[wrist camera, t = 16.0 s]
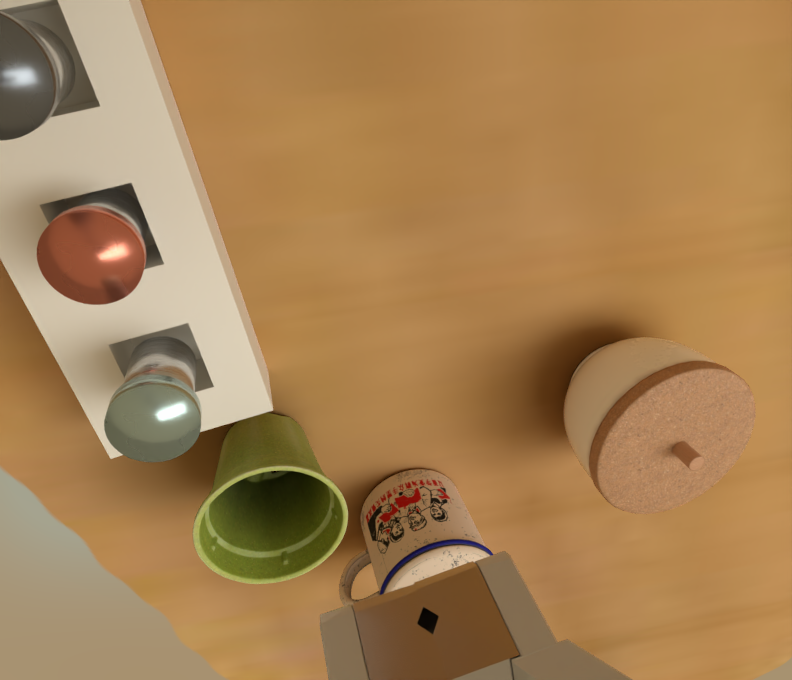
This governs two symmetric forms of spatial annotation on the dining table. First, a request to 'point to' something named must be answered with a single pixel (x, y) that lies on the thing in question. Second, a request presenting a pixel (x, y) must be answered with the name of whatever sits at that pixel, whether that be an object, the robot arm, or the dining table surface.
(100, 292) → the brick-red plug
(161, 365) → the plug
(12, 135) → the plug
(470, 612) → the robot arm
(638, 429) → the lidded bowl
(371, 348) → the dining table surface
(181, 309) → the block
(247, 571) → the plant pot
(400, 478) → the printed white mug
